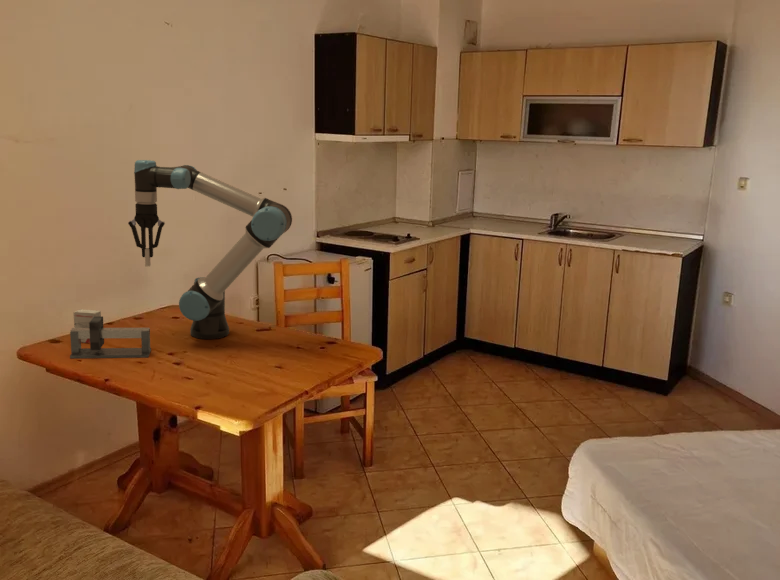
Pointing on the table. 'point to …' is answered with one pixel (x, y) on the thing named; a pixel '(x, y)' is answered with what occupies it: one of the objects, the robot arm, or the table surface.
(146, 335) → the pipe rail
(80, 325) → the ink box
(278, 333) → the table surface
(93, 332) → the ring collar
